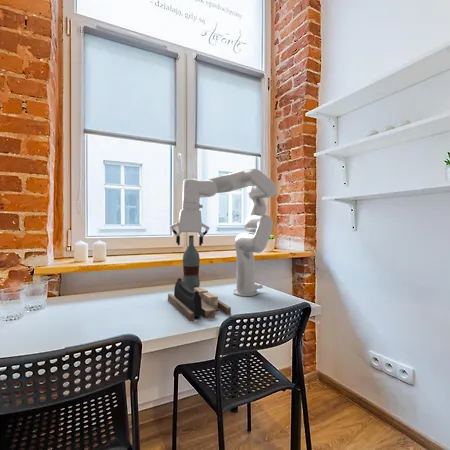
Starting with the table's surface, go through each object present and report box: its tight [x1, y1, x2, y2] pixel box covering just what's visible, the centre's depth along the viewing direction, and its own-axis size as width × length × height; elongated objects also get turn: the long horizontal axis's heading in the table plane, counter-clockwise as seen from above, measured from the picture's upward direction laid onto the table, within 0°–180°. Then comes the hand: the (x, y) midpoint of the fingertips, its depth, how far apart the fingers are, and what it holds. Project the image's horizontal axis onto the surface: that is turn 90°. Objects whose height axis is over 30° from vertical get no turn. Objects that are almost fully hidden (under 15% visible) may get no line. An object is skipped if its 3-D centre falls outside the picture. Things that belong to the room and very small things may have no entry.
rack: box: [167, 293, 232, 322], centre depth 133 cm, size 18×32×3 cm, turn 26°
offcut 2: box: [202, 291, 219, 311], centre depth 131 cm, size 4×8×6 cm, turn 26°
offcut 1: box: [194, 286, 209, 300], centre depth 141 cm, size 4×8×6 cm, turn 26°
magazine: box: [173, 278, 203, 318], centre depth 130 cm, size 17×3×30 cm
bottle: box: [182, 234, 201, 291], centre depth 161 cm, size 9×9×30 cm
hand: (189, 245), depth 133 cm, fingers open, 9 cm apart
